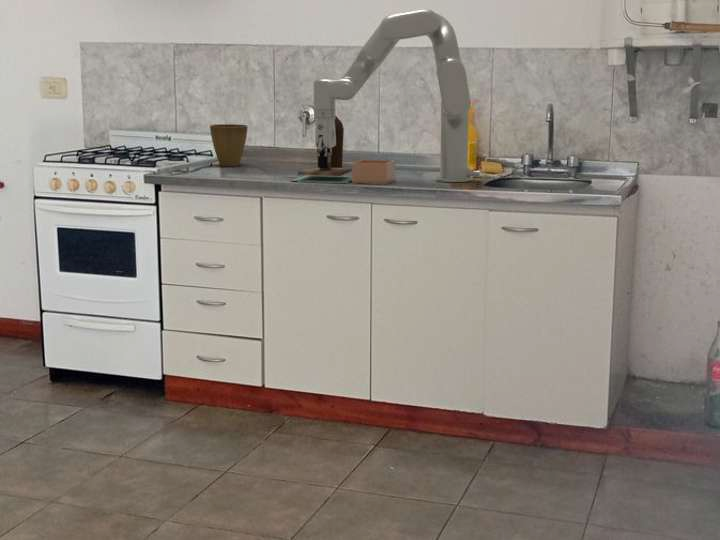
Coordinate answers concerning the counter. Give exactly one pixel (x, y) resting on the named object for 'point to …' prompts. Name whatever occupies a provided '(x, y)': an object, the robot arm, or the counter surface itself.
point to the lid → (325, 170)
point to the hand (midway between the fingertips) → (325, 166)
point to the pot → (374, 171)
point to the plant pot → (229, 142)
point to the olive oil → (337, 145)
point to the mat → (323, 179)
